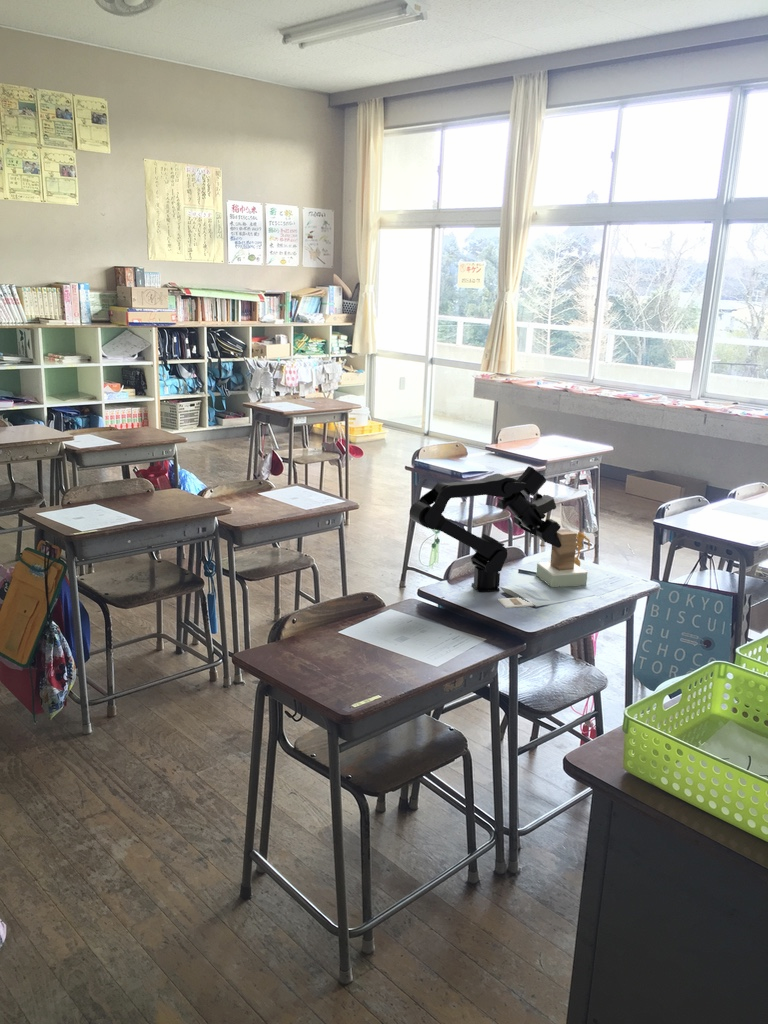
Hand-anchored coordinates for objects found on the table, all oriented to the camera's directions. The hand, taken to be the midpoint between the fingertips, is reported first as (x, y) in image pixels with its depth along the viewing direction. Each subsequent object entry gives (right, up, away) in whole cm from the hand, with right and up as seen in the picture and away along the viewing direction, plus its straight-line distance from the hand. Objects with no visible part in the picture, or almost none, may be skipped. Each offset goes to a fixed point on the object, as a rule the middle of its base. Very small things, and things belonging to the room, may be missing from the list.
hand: (552, 542), depth 239 cm
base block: (+3, -11, +4) cm, 13 cm away
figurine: (+10, -9, +15) cm, 20 cm away
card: (-13, -16, -16) cm, 26 cm away
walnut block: (+3, -8, +3) cm, 9 cm away
